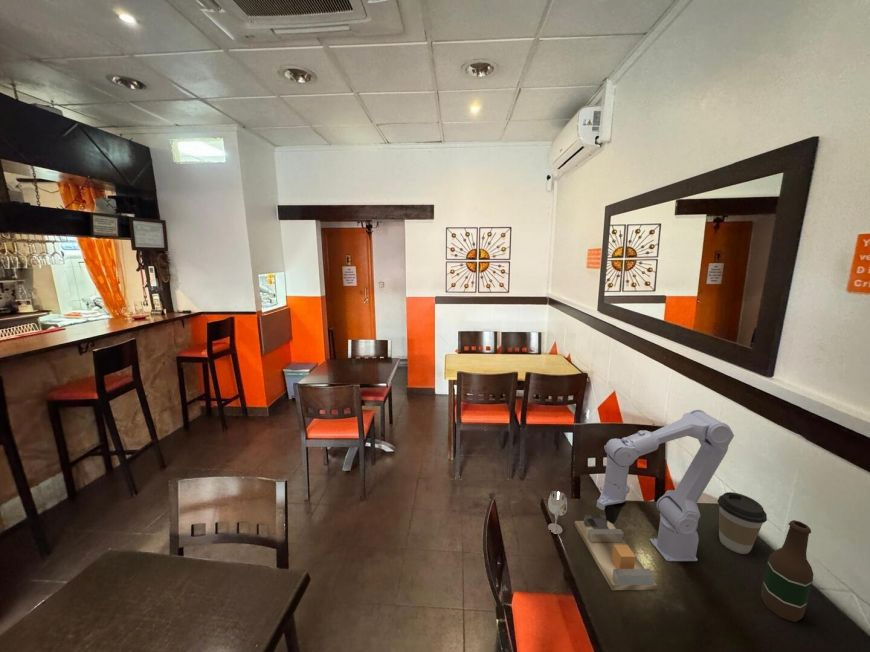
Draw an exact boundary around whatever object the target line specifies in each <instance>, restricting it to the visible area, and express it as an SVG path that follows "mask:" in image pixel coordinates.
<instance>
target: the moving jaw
mask: <svg viewBox="0 0 870 652" xmlns="http://www.w3.org/2000/svg"><path fill="white" fill-rule="evenodd" d="M583 521H584V524H585V526H592V527H593V529H589V531H588V538H589V540H590V542H623V539H624V540H625V538H624V536H625V533H624V532H623V530H622V529H620V528H616V529H609V528H608V527H607V522H608V521H607V520H606V515H605V514H591V515H590V514H587V515H586V514H585V515H584V516H583Z"/></svg>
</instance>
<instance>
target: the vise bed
mask: <svg viewBox="0 0 870 652" xmlns="http://www.w3.org/2000/svg"><path fill="white" fill-rule="evenodd" d="M574 526H575V527H574V528H576V530H577V532H578V534H579V535H580V537H581V539H582V540H583V542H584V544H585V546H586V548H587V549H588V551H589V553H590V554H591V557H592V558H593V560H594V561H595V563H596V565H597V567H598V568H599V570H600V572H601V574H602V576H603V577H604V579H605V581H606V582H607V584H608V586H609V587H610V590H611V591H647V590H648V591H649V590H650V591H653V590H654V591H655V590H657V588H658V587H657V586H658V584H657V583H656V582H655V581H654V584H653V585H616V584H615V582H614V581H613V579H612V576H613V569H617V568H616V566H615V565H614V563H613V561H612V553H613V545H628V546H629V544H628V543H627V541H626V540H625V538H624V539H623V542H590V540H589V538H588V531H589V529H593V527H592V526H585V524H584V520H575V521H574ZM607 527H608V528H609V529H617V528H616V527H615V525H614V523H613V524H612V523H610V522H609V521H608V522H607ZM629 548H630V549H631V547H630V546H629ZM631 551H632V552H633V554H634V555H635V556H636V554H635V552H634V551H633V550H632V549H631ZM634 569H646V568H645V567H644V565H643V564H642V562H641V561H640V560H639V558H638V557H637V556H636V558H635V565H634Z"/></svg>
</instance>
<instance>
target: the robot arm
mask: <svg viewBox="0 0 870 652" xmlns="http://www.w3.org/2000/svg"><path fill="white" fill-rule="evenodd" d="M685 437H691V438H693V439H697V440H698V443H699V444H700V447H699V448H698V450H697V451H696V454H695V455H694V457H693V458H692V461H691V462H690V464H689V466H688V467H687V470H686V471H685V473H684V475H683V476H682V478H681V479H680V481H679V484H678V485H677V487H676V488H675V489H674V490H673V489H672V490H671V489H668V490H666V492H665V493H664V494H662V496H660V497H659V498H658V499H657V501H656V509H657V510H658V511H659V517H660V518H659V519H660V520H659V525H658V526H659V527H658V534H657V538H649V542H650V543H651V544H652V545H653V546H654V548H655V549H656V550H657V551H658V552H659V554H660V555H661V556H662V558H664V560H665V561H666V562H698V558H697V551H698V546H699V540H700V539H699V538H700V537H699V534H698V531H697V529H698V526H699V525H698V524H699V519H700V518H701V513H700V510H699V506H698V501H699V499H700V498H701V497H702V495H703V493H704V491H705V489H706V488H707V486H709V485H708V484H709V483H710V481H711V479H712V478H713V476H714V475H715V473H716V471H717V469H718V468H719V466H720V465H721V463H722V461H723V460H724V458H725V457H726V454H727V452H728V449H729V445H730V444H731V442H732V440H733V439H734V437H735V434H734V431H733V430H732V428H731V427H730V426H729V425H728V424H727V423H725V422H722V421H720V420H718V419H717V418H715V417H713V416H711V415H710V414H707V413H706V412H705V411H703V410H701V409H694V410H691V411H689V412H685V413H684V414H683V415H682V417H681V418H680V419H678V420H676V421H673V422H672V423H669V424H667V425H665V426H663V427H660V428H659V429H656V430H654V431H648V430H645V429H644V430H642V429H641V430H638V431H637V432H636V433H633V434H632V435H628V436H626V437H625V436H624V437H622V438H621V439H620V438H610V439H609V440H608V441H607V442H606V444H605V445H604V446H603V448H604V451H605V453H606V465H605V475H604V482H603V485H601V486H599V491H601V493H600V496H599V498H598V499H597V501H596V508H598V509H599V510H602V511H604V515H606V520H607V521H609V522H610V523H612V524H613V525H614V524H615V523H616V522H617V520H618V517H619V514H620V513H621V510H622V509H623V508H624V507H625V506H626V505H627V501H626V500H627V495H628V494H629V493H630V491H631V490H630V489H631V487H630V486H629V485H627V484H628V478H629V477H628V475H629V469H630V466H632V465H633V464H634V463H635V461H636V460H637V459H638V458H640V457H642V456H644V455H646V454H650V453H652V452H655V451H657V450H658V449H659V446H660V444H664V443H666V442H672V441H674V440H679V439H682V438H685Z"/></svg>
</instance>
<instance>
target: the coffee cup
mask: <svg viewBox="0 0 870 652" xmlns="http://www.w3.org/2000/svg"><path fill="white" fill-rule="evenodd" d="M716 501H717V504H718V507H719V508H718V509H719V512H718V514H719V515H718V516H719V518H718V519H719V521H718V536H719V541H720V542H721V544H722V546H724V547H725V548H726V549H728V550H730V551H732V552H734V553H738V554H740V555H747V554H749V553H750V552H751V551H752V549H753V547H754V544H755V542H756V539H757V537H758V535H759V534H760V531H761V528H762V526H763V524H765V522H767V521H768V516H767V515H768V514H767V513H766V512H765V510H764V507H763V506H762V505H761V504H760V503H759V502H758V501H756V500H755V499H753V498H752V497H750V496H748V495H744V494H741V493H737V492H732V491H729V492H725V493H723V494H722V495H720V496H718V498H717V500H716Z"/></svg>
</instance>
